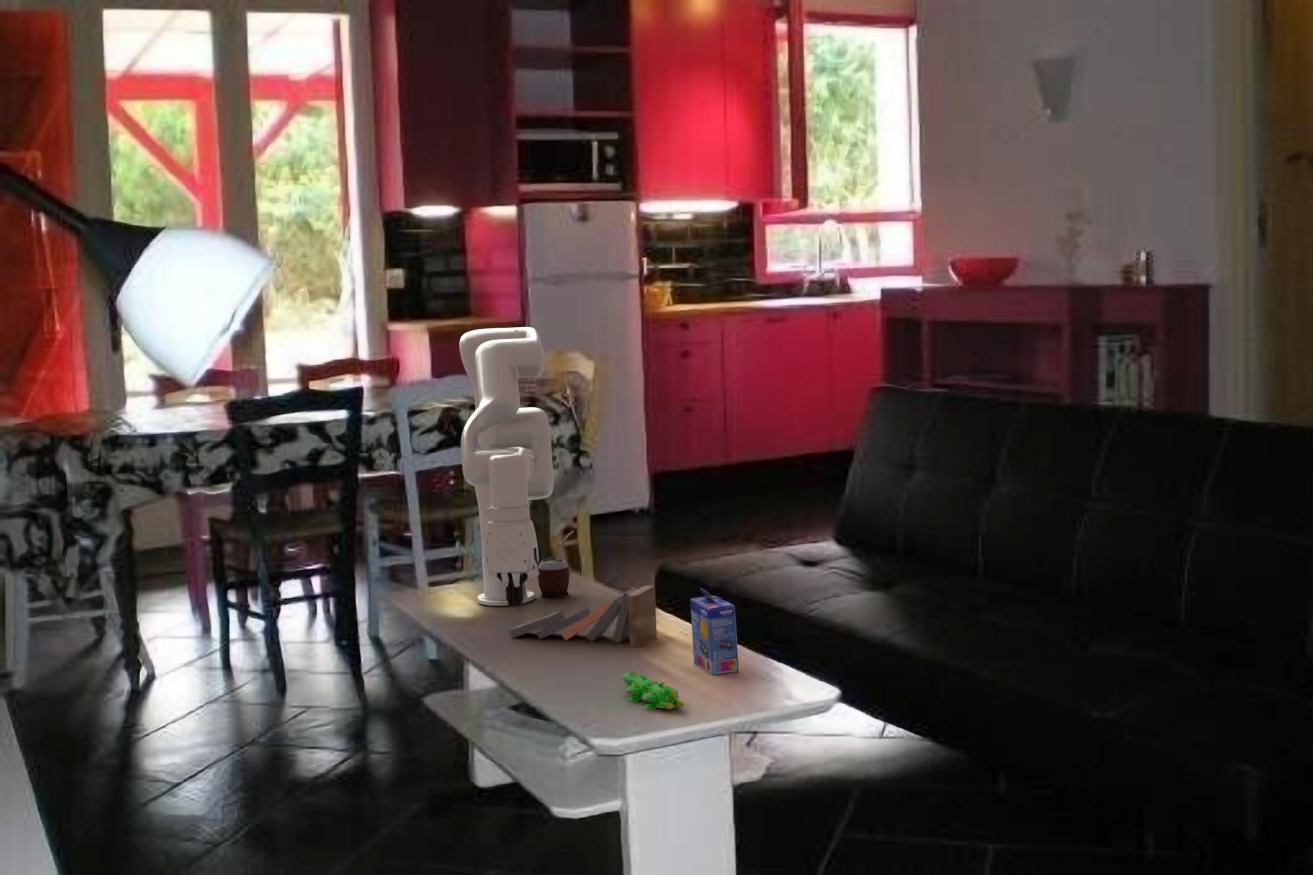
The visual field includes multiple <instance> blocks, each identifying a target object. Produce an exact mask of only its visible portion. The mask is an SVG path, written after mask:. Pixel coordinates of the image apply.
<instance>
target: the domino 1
mask: <svg viewBox="0 0 1313 875" xmlns="http://www.w3.org/2000/svg"><path fill="white" fill-rule="evenodd" d="M564 618H566V617H565V615H564V612H563V610H559V611H557V612H556V611H555V612H554V613H551V614H548V615H545V616H542V617H539V618H536V619H534V620H531V621H530V620H529V621H528V622H525V623H522V624H519V625H518V626H515V627H514V628H511V629H510V630H509V634H510V637H511V639H514V638H516V637H520V636H523V635H525V634H529V633H531V632H534V631H537V630H538V631H539V630H541V629H543V628H545V627H547V626H549V625H552V624H555V623H556V622H558V621H560V620H562V619H564Z"/></svg>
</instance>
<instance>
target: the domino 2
mask: <svg viewBox="0 0 1313 875" xmlns="http://www.w3.org/2000/svg"><path fill="white" fill-rule="evenodd" d="M589 614H591V611H590V610H589V607H584V608H583V609H581V610H579V611H577V612H574V613H573V614H571V615H568V616H567V617H565V618H564V619H562V620H560V621H558V622H556V623H555V624H552V625H549V626H546V627H543V628H540V629H539V630H538V631H536V634H537V637H538V639H539V640H542V639H545V638H546V637H548V636H550V635H553V634H555V633H557V632H559V631H561V630H563V629H565V628H567V627H568V628H569V627H571V625H572V626H573V625H575V624H576V623H578V622H579V621H580V620H582V619H583V618H585V617H586V616H588V615H589Z"/></svg>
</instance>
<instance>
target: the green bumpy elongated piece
mask: <svg viewBox="0 0 1313 875" xmlns="http://www.w3.org/2000/svg"><path fill="white" fill-rule="evenodd" d="M620 678H621V679H622V681H624V682H623V684H624V685H626V688H625V689H624V692H625V693H626V694H629V695H632V696H630V697H629V698H628V699H627V700H628V702H632V703H639V702H640V701H641V700H642V701H643V702H644V701H645V702H649V703H647V704H645V705H644V709H646V710H653V711H654V710H655V709H657V708H659V709H660V708H661V709H668V710H670V709H671V710H672V709H674V708H675V707H676V706H677V707H679V708H680V707H681V708H682V707H684V705H685V704H684V702H683V701H682V700H680V699H679V698H680V697H679V691H678V690H676V689H675V688H673V687H671V686H670V685H668V684H667V685H665V682H658V681H657V680H655V681H654V680H650V679H648V678H647V675H646V674H642V675H640V674H638V673H637V672H635V670H634V671H633V670H630V671H629V672H626V673H623V675H621V676H620ZM635 695H636V696H635Z"/></svg>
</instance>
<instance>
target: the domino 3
mask: <svg viewBox="0 0 1313 875" xmlns="http://www.w3.org/2000/svg"><path fill="white" fill-rule="evenodd" d="M610 606H611V603H610V602H609V601H608V602H607V603H605V604H603V605H602V606H600V607H598V608H596V609H595V610H593V611H592V612H590V614H589V615H588V616H586V617H585V618H583V619H582V620H580V621H578V622H576V623H574V624H572V626H569V627H568V628H567V629H565V630H564V631H563V632H562V633H560V635H562V637H563V639H564V640H565V642H566V641H567V640H569V639H570V638H573V637H574V636H576V635H577V634H579V633H581V632H582V631H583V630H584V629H586V628H588V627H589V626H591V625H592V624H594V623H595V622H598V621H599V620H600V618H601V617H602V616H603V614H604V613H605V612H606V611H607V609H608V608H609V607H610Z"/></svg>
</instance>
